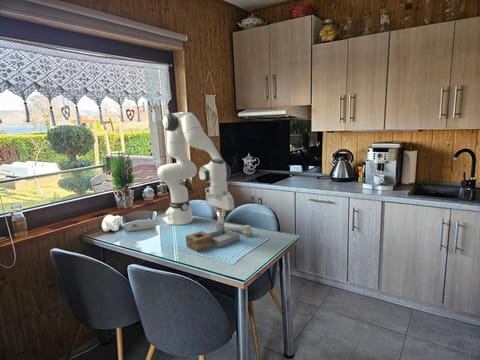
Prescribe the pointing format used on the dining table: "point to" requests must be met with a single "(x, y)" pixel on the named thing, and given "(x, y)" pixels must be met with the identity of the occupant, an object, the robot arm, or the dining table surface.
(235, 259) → the dining table surface
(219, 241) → the tray
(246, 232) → the electric toothbrush
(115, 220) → the white knot
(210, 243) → the hitch block
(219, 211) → the pin
